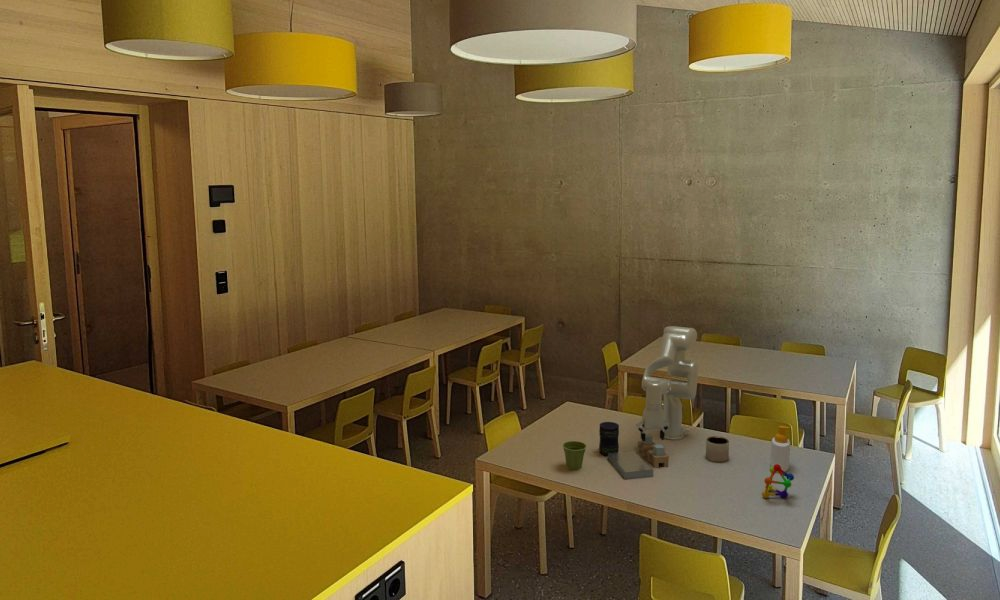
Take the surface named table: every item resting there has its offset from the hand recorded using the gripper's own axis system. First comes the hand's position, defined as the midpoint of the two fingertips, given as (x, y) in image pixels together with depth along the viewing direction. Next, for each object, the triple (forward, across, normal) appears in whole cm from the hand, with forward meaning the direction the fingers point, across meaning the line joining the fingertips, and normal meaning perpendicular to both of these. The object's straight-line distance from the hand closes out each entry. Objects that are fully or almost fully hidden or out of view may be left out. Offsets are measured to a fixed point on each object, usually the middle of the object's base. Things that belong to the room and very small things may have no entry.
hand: (652, 439), depth 341 cm
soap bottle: (+10, -56, +22) cm, 61 cm away
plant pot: (+11, +40, +1) cm, 42 cm away
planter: (+10, -32, +6) cm, 34 cm away
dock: (+10, +14, +7) cm, 19 cm away
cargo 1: (+5, -1, -8) cm, 9 cm away
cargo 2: (+5, -1, +7) cm, 8 cm away
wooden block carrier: (+10, -1, -1) cm, 10 cm away
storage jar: (+10, +18, -12) cm, 24 cm away
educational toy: (+11, -38, +49) cm, 63 cm away
